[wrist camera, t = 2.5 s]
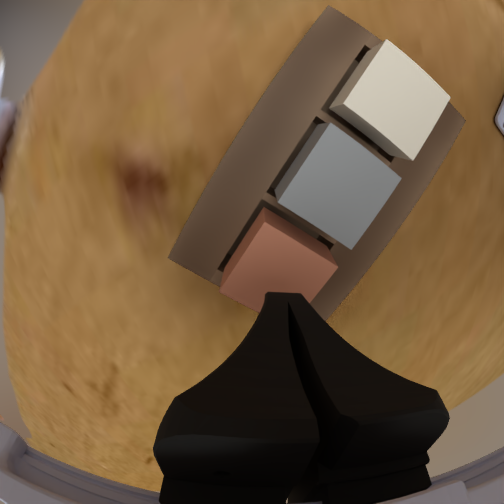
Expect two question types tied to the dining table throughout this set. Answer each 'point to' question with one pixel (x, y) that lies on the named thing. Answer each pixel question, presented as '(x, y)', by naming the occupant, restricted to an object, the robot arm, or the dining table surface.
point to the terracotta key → (276, 263)
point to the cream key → (391, 101)
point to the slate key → (336, 184)
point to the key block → (286, 150)
